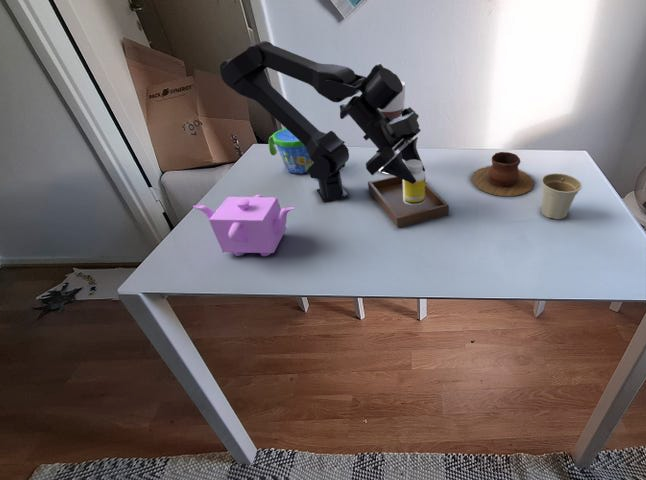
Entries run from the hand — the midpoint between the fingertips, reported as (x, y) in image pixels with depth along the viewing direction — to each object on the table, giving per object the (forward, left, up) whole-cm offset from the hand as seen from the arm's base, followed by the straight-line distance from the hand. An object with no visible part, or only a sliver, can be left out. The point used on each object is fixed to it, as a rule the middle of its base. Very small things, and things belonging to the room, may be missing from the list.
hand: (419, 177), depth 90 cm
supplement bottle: (-1, -1, -7) cm, 7 cm away
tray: (-6, -1, -9) cm, 11 cm away
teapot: (-3, -37, -10) cm, 39 cm away
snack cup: (-36, -21, -10) cm, 43 cm away
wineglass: (-26, +3, -10) cm, 28 cm away
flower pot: (+15, +30, -10) cm, 35 cm away
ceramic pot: (-5, +28, -10) cm, 30 cm away
